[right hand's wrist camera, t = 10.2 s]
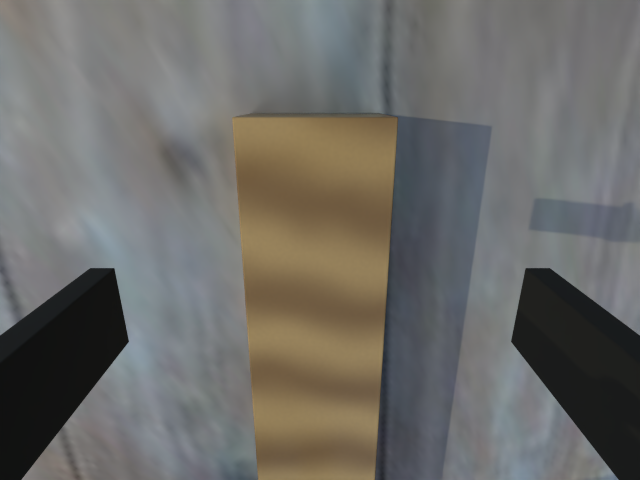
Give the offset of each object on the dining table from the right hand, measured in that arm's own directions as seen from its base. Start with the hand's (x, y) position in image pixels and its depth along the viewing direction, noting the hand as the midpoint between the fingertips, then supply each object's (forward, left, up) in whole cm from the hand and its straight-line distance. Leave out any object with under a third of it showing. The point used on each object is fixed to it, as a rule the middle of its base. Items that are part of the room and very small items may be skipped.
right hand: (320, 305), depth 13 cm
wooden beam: (+17, +30, -20) cm, 40 cm away
